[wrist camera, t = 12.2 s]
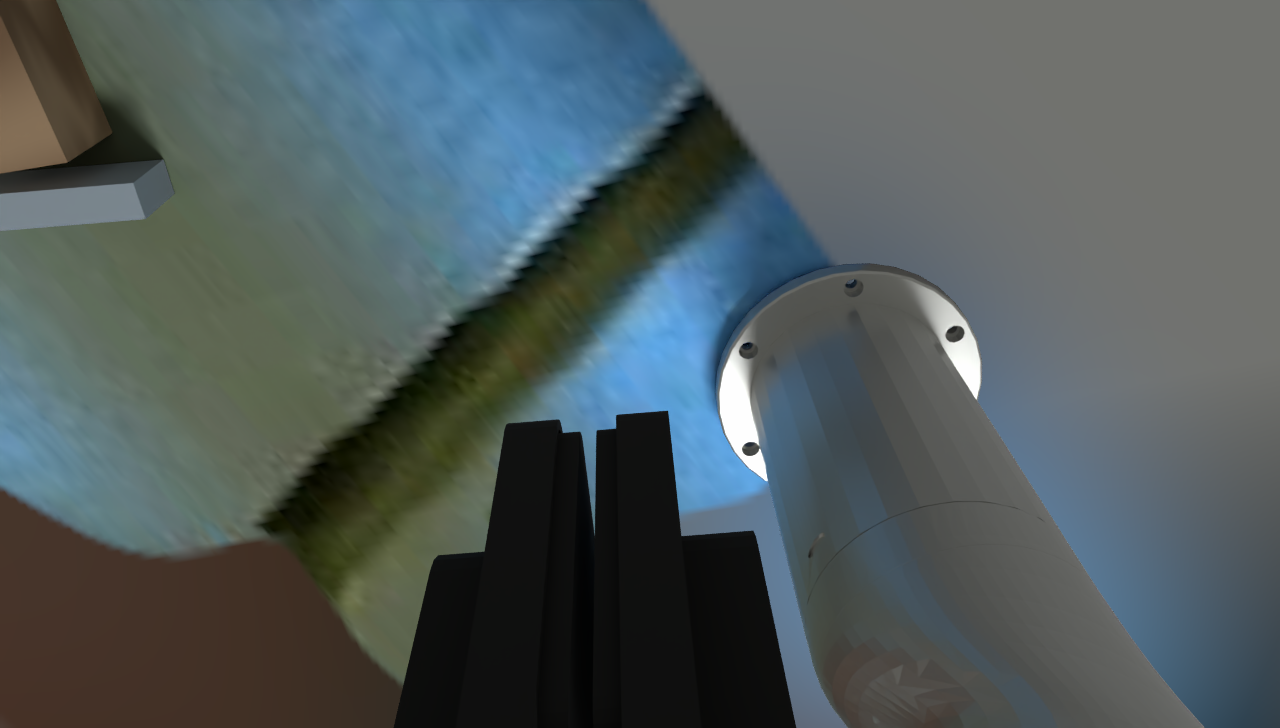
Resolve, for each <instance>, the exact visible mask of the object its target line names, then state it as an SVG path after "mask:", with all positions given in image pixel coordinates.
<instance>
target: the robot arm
mask: <svg viewBox="0 0 1280 728" xmlns="http://www.w3.org/2000/svg"><path fill="white" fill-rule="evenodd" d="M853 279H854V282H853V283H852V284H846V283H847V282H848V281H850V280H853ZM952 326H953V327H952ZM950 327H952V328H951V329H949V328H950ZM747 342H751V343H750V344H749V345H746V346H745V345H743V344H744V343H747ZM981 383H982V358H981V354H980V350H979V345H978V341H977V338H976V336H975V334H974V332H973V330H972V328H971V326H970V324H969V322H968V320H967V318H966V317H965V316H964V314H963V313H962V312H961V310H960V309H959V307H958V306H957V305H956V303H955V302H954V301H953V300H952V299H950V298H949V297H948V296H947V295H946V294H945V293H944V292H943V291H942V290H941V289H940V288H939V287H937V286H936V285H934V284H932V283H931V282H929V281H927V280H926V279H924V278H922V277H921V276H919V275H916V274H913V273H911V272H908V271H905V270H902V269H899V268H896V267H891V266H884V265H877V264H843V265H838V266H834V267H829V268H824V269H819V270H816V271H813V272H811V273H808V274H806V275H803V276H801V277H798V278H796V279H793V280H791V281H789V282H788V283H786V284H784V285H783V286H781V287H779V288H778V289H776V290H774V291H773V292H771V293H770V294H768V295H767V296H766V297H765V298H764V299H763V300H761V301H760V302H759V303H758V304H757V305H756V306H754V307H753V308H752V309H751V310H750V311H749V312H748V313H747V315H746V316H745V317H744V318H743V320H742V321H741V322H740V323H739V325H738V326H737V327H736V328H735V330H734V331H733V333H732V335H731V337H730V339H729V341H728V343H727V345H726V347H725V348H724V350H723V353H722V357H721V360H720V364H719V367H718V371H717V378H716V393H715V394H716V401H717V409H718V415H719V418H720V422H721V426H722V429H723V433H724V435H725V437H726V439H727V440H728V442H729V444H730V446H731V448H732V450H733V452H734V453H735V454H736V455H737V456H738V457H739V458H740V460H741V461H742V462H743V463H744V464H745V465H746V467H747V468H749V469H750V470H751V471H753V472H754V473H755V474H757V475H758V476H759V477H761V478H762V479H763V480H765V481H767V482H768V484H769V488H770V492H771V497H772V501H773V505H774V509H775V513H776V517H777V521H778V525H779V529H780V533H781V537H782V541H783V546H784V549H785V554H786V558H787V562H788V566H789V570H790V574H791V578H792V582H793V587H794V591H795V595H796V598H797V603H798V607H799V611H800V615H801V619H802V623H803V627H804V632H805V636H806V639H807V644H808V647H809V651H810V655H811V659H812V663H813V666H814V669H815V672H816V675H817V678H818V680H819V683H820V686H821V688H822V690H823V692H824V694H825V696H826V697H827V699H828V701H829V703H830V705H831V706H832V708H833V709H834V711H835V712H836V713H837V715H838V716H839V717H840V718H841V720H842V721H843V722H844V723H845V724H846V726H847V727H848V728H1204V726H1203V725H1202V724H1201V723H1200V722H1199V721H1198V720H1197V719H1196V718H1195V717H1194V716H1193V714H1192V713H1191V712H1190V711H1189V710H1188V709H1187V707H1186V706H1185V705H1184V704H1183V703H1182V702H1181V701H1180V700H1179V698H1178V697H1177V696H1176V695H1175V693H1174V692H1173V691H1172V690H1171V689H1170V687H1169V686H1168V685H1167V684H1166V682H1165V681H1164V680H1163V679H1162V678H1161V677H1160V675H1159V674H1158V673H1157V671H1156V670H1155V669H1154V668H1153V667H1152V665H1151V664H1150V662H1149V661H1148V660H1147V659H1146V657H1145V656H1144V654H1143V653H1142V652H1141V651H1140V649H1139V648H1138V646H1137V645H1136V644H1135V642H1134V641H1133V639H1132V638H1131V637H1130V635H1129V634H1128V632H1127V631H1126V630H1125V628H1124V627H1123V625H1122V624H1121V622H1120V621H1119V620H1118V618H1117V617H1116V615H1115V614H1114V612H1113V611H1112V609H1111V608H1110V606H1109V605H1108V604H1107V602H1106V601H1105V599H1104V598H1103V597H1102V595H1101V593H1100V592H1099V590H1098V589H1097V588H1096V586H1095V584H1094V583H1093V581H1092V580H1091V578H1090V577H1089V575H1088V574H1087V572H1086V571H1085V569H1084V567H1083V566H1082V564H1081V563H1080V561H1079V559H1078V558H1077V556H1076V555H1075V553H1074V552H1073V550H1072V549H1071V547H1070V546H1069V544H1068V543H1067V541H1066V539H1065V538H1064V536H1063V535H1062V533H1061V531H1060V530H1059V528H1058V526H1057V525H1056V523H1055V522H1054V520H1053V519H1052V517H1051V515H1050V514H1049V512H1048V511H1047V509H1046V508H1045V506H1044V504H1043V503H1042V501H1041V500H1040V498H1039V497H1038V495H1037V494H1036V492H1035V490H1034V489H1033V487H1032V486H1031V484H1030V483H1029V481H1028V479H1027V478H1026V476H1025V475H1024V473H1023V472H1022V470H1021V469H1020V467H1019V465H1018V464H1017V462H1016V461H1015V459H1014V458H1013V456H1012V454H1011V453H1010V452H1009V450H1008V448H1007V447H1006V445H1005V444H1004V442H1003V441H1002V439H1001V437H1000V436H999V434H998V433H997V431H996V429H995V428H994V427H993V425H992V423H991V422H990V420H989V419H988V417H987V416H986V414H985V412H984V411H983V409H982V408H981V406H980V404H979V403H978V401H977V400H978V396H979V391H980V387H981ZM394 728H796V725H795V720H794V715H793V711H792V706H791V701H790V696H789V691H788V686H787V682H786V677H785V672H784V667H783V662H782V658H781V653H780V649H779V643H778V639H777V634H776V629H775V624H774V620H773V615H772V610H771V605H770V600H769V596H768V591H767V586H766V581H765V576H764V572H763V567H762V562H761V557H760V553H759V548H758V544H757V540H756V536H755V534H754V531H743V532H730V533H718V534H705V535H692V536H681V529H680V519H679V510H678V500H677V491H676V481H675V472H674V462H673V453H672V443H671V434H670V424H669V415H668V411H659V412H646V413H634V414H621V415H616V429H607V430H597V435H596V501H595V535H594V527H593V519H592V511H591V503H590V495H589V487H588V479H587V471H586V463H585V455H584V447H583V440H582V435H581V432H570V433H563V432H562V427H561V423H560V420H546V421H534V422H521V423H509V424H507V425H506V427H505V431H504V437H503V443H502V449H501V455H500V461H499V467H498V473H497V479H496V486H495V492H494V498H493V504H492V510H491V516H490V522H489V528H488V534H487V540H486V546H485V552H476V553H463V554H450V555H438V556H437V557H436V558H435V559H434V561H433V564H432V567H431V570H430V574H429V578H428V582H427V586H426V591H425V595H424V599H423V604H422V608H421V612H420V617H419V621H418V625H417V629H416V634H415V638H414V642H413V647H412V651H411V655H410V660H409V664H408V668H407V672H406V677H405V681H404V685H403V690H402V694H401V698H400V703H399V707H398V711H397V715H396V720H395V724H394Z"/></svg>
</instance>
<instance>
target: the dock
mask: <svg viewBox="0 0 1280 728" xmlns="http://www.w3.org/2000/svg"><path fill="white" fill-rule="evenodd" d="M174 194H175V193H174V190H173V187H172V184H171V181H170V178H169V175H168V172H167V169H166V166H165V163H164V160H151V161H139V162H127V163H115V164H102V165H90V166H78V167H66V168H54V169H42V170H30V171H18V172H7V173H1V174H0V231H5V230H17V229H29V228H41V227H53V226H66V225H78V224H90V223H102V222H114V221H126V220H139V219H146V218H147V217H148V216H149V215H151V214H152V213H153V212H154V211H155V210H156V209H158V208H159V207H160V206H161V205H162V204H163V203H164V202H166V201H167V200H168V199H169V198H170V197H171V196H172V195H174Z"/></svg>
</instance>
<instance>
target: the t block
mask: <svg viewBox="0 0 1280 728" xmlns="http://www.w3.org/2000/svg"><path fill="white" fill-rule="evenodd" d="M112 133H113V132H112V130H111V128H110V125H109V123H108V121H107V118H106V116H105V114H104V111H103V109H102V107H101V104H100V102H99V100H98V97H97V95H96V93H95V90H94V88H93V86H92V83H91V81H90V79H89V76H88V74H87V72H86V69H85V67H84V65H83V62H82V60H81V58H80V55H79V53H78V51H77V48H76V46H75V44H74V41H73V39H72V37H71V34H70V32H69V30H68V27H67V25H66V23H65V20H64V18H63V16H62V13H61V11H60V9H59V6H58V4H57V2H56V0H0V174H1V173H7V172H13V171H19V170H25V169H31V168H37V167H43V166H49V165H55V164H61V163H67V162H69V161H71V160H72V159H74V158H75V157H77V156H78V155H80V154H81V153H83V152H84V151H86V150H87V149H89V148H91V147H92V146H94V145H95V144H97V143H98V142H100V141H101V140H103V139H104V138H106V137H107V136H109V135H110V134H112Z"/></svg>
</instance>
